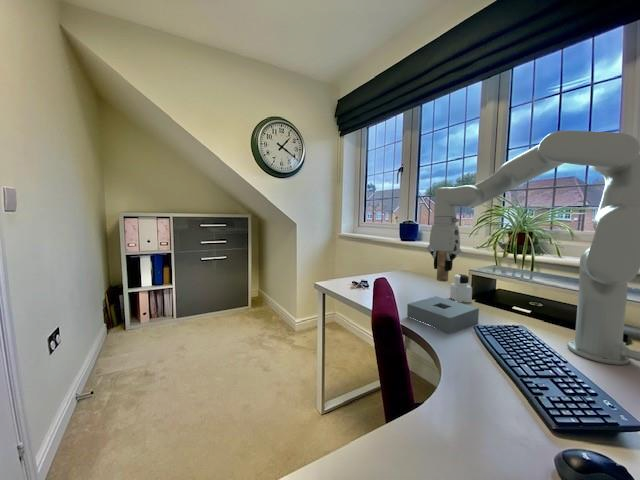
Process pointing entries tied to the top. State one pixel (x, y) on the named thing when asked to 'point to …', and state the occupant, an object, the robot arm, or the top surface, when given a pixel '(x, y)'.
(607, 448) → the top surface
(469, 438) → the top surface
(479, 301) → the top surface
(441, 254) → the oak pin
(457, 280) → the medicine bottle
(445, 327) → the hole block
